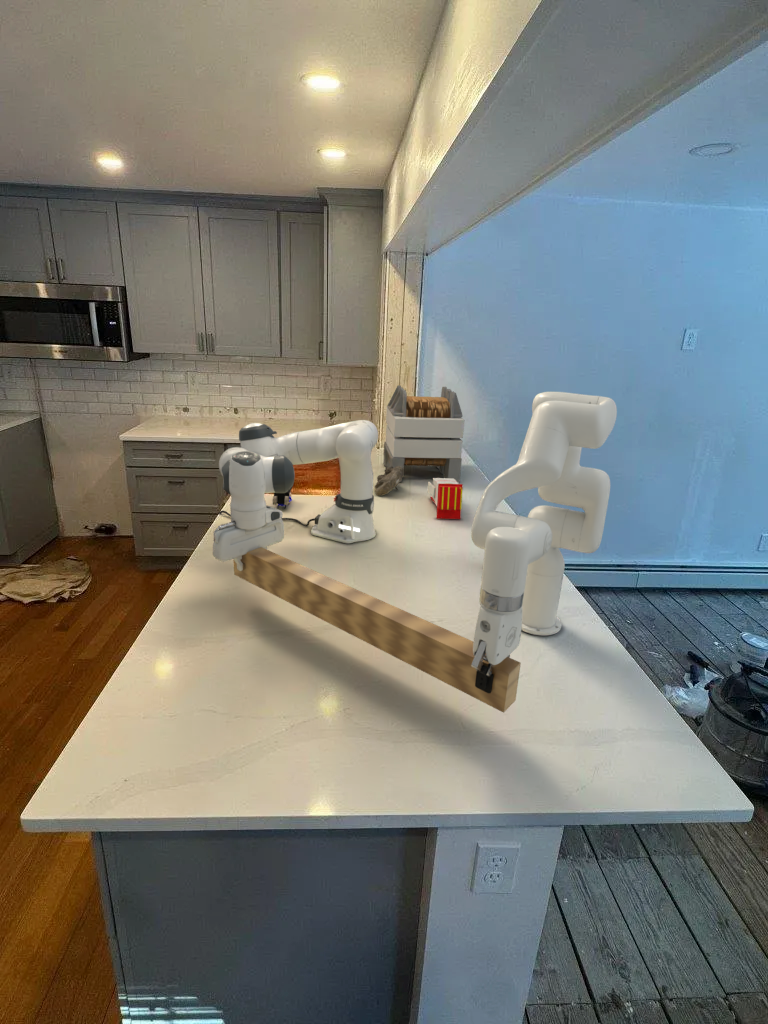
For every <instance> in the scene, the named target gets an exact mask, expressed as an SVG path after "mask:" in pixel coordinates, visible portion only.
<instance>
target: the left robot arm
mask: <svg viewBox="0 0 768 1024" xmlns="http://www.w3.org/2000/svg"><path fill="white" fill-rule="evenodd" d="M276 434H278V432H277V431H275V430H273V429H272V428H271V427H270V426H269V425H267V424H265V423H262V422H261V423H260V422H251V423H248V424H246V425H245V426H243V427H241V428H240V430H239V431H238V441H239V443H240V446H234V447H230V448H228V449H226V450H225V451H224V452H223V453H222V454H221V455H220V458H219V461H218V469H219V473H220V475H221V477H222V480H223V481H222V482H223V483H222V489H223V490H224V491H225V492H226V493H227V494H228V495H229V496H230V497H231V500H230V504H229V510H230V511H229V512H230V513H229V512H227V511H226V510H220V511H219V512H218V515H221V514H225V515H227V516H228V517H230V521H229V522H226V523H224V524H223V523H222V524H219V525H218V526H217V528H215V530H213V542H212V543H213V544H212V556H213V558H215V560H216V561H219V562H222V563H226V562H228V561H231V560H232V561H233V560H234V561H235V562H236V563H237V569H238V570H239V571H242V570H245V569H246V567H245V566H246V565H245V563H243V562H241V561H240V560H241V559H242V555H245V554H247V552H249V551H252V550H254V549H257V548H260V547H262V548H265V549H267V550H268V547H271V546H273V545H275V544H278V543H282V542H283V540H284V538H285V524H284V521H293V522H296V523H298V524H299V525H301V526H303V527H309V525H310V523H311V522H314V525H313V526H312V528H311V530H310V533H311V536H315V537H319V538H323V539H326V540H330V541H336V542H339V543H343V544H352V543H357V542H365V541H368V540H372V539H373V538H375V537H376V535H377V532H376V528H375V523H374V513H373V512H374V509H375V496H374V471H373V464H372V451H373V449H374V448H375V447H376V445H377V444H378V441H379V431H378V428H377V426H376V425H375V423H373V422H372V421H371V420H367V419H358V420H353V421H348V422H347V421H346V422H342V423H337V424H334V425H330V426H326V427H322V428H313V429H309V430H308V429H307V430H301V431H295V432H290V433H287V434H284V435H281V436H278V437H275V435H276ZM335 459H338V464H339V471H340V490H339V491H338V492H337V494H336V495H335V496H334V497H333V502H334V504H333V505H331V506H329V507H328V508H326V509H325V510H323V512H321V514H320V513H319V514H317V515H316V516H315V517H314V518H310V519H308V520H307V523H306V524H305V523H303V522H301V521H300V520H298V519H297V518H293V517H283V514H284V513H283V511H282V510H280V509H277V507H273V506H271V505H267V502H266V498H265V494H274V493H286V492H287V491H288V490H289V489H290V488H291V487H292V486H293V487H294V484H295V475H296V474H295V468H294V466H297V465H298V466H299V465H308V464H314V463H322V462H328V461H332V460H335ZM293 487H292V488H293Z"/></svg>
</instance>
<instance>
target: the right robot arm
mask: <svg viewBox="0 0 768 1024" xmlns="http://www.w3.org/2000/svg"><path fill="white" fill-rule="evenodd" d="M531 412H532V415H531V418H530V421H529V424H528V428H527V431H526V433H525V437H524V439H523V443H522V446H521V449H520V451H519V456H518V459H517V462H516V463H515V464H514V465H512V466H510V467H509V468H507V469H505V470H504V471H503V472H500V474H498V475H497V476H496V477H495V478H494V479H493V480H492V481H491V482H490V483H488V485H487V486H486V488H485V489H484V490H483V493H482V494H481V497H480V499H479V503H478V504H477V505H478V506H477V508H476V511H475V514H474V517H473V519H472V524H471V529H470V537H471V541H472V542H473V545H475V547H477V548H479V549H481V550H484V553H483V562H482V571H481V580H480V581H481V582H480V589H479V590H480V591H479V599H478V603H479V605H480V606H479V610H478V614H477V618H476V623H475V624H476V625H475V628H474V634H473V655H474V656H475V657H474V659H473V662H472V664H471V667H473V668H475V669H476V671H477V672H476V681H475V686H476V687H477V688H478V689H480V690H482V691H484V692H486V693H491V692H492V684H493V677H494V674H492V670H493V666H494V665H497V664H499V663H500V662H502V661H503V660H504V659H505V658H506V657H509V658H511V655H512V653H513V652H514V651H515V650H517V648H518V647H519V646H520V643H521V636H522V632H524V633H527V634H531V635H534V636H552V635H556V634H557V633H559V632H560V631H561V629H562V626H563V625H562V624H563V623H562V620H561V619H560V618H559V617H558V610H559V604H560V599H561V591H562V585H563V579H564V573H565V567H566V563H565V562H566V561H565V559H564V555H563V553H562V551H561V550H562V549H563V550H567V551H573V552H577V553H582V554H592V553H595V552H596V551H597V550H598V549H599V548H600V546H601V544H602V539H603V534H604V529H605V523H606V519H607V512H608V508H609V507H608V506H609V501H610V500H609V499H610V493H611V478H610V476H609V474H608V473H607V472H606V471H605V470H602V469H600V468H594V467H588V466H583V465H581V464H580V461H581V456H582V449H592V450H595V449H599V448H601V447H602V446H603V445H604V444H605V442H606V441H607V439H608V437H609V436H610V435H611V433H612V431H613V429H614V427H615V425H616V421H617V417H618V416H617V415H618V407H617V404H616V401H614V399H613V398H611V397H608V396H601V395H593V394H592V395H591V394H582V393H581V394H580V393H575V392H565V391H543V392H539V393H537V394H536V395H535V396H534V397H533V400H532V404H531ZM536 488H537V492H538V496H539V497H540V499H541V500H543V501H545V502H548V503H552V504H557V505H561V506H568V507H571V508H572V507H573V508H577V509H582V510H583V511H580V510H575V509H570V508H565V507H559V506H554V505H537V506H534V507H532V509H531V510H530V511H529V512H528V515H527V516H523V515H520V514H513V513H509V512H504V511H499V510H497V507H499V505H500V504H501V503H502V502H503V500H505V499H506V498H508V497H510V496H512V495H515V494H517V493H521V492H524V491H525V492H526V491H529V490H534V489H536ZM485 654H486V655H485ZM483 660H485V661H487V662H489V664H488V668H487V667H486V666H485V665H483V664H482V663H483Z"/></svg>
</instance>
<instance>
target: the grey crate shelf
mask: <svg viewBox="0 0 768 1024" xmlns="http://www.w3.org/2000/svg"><path fill="white" fill-rule="evenodd" d="M440 393H441V394H440V396H415V395H414V396H413V395H412V396H411V395H407V394H408V393H407V390H406V389H404V388H403V387H402V385H399V384H398V385H397V386H396V388H395V390H394V392H393V394H392V395H391V398H390V400H389V402H388V404H387V405H386V413H385V414H386V415H385V423H386V428H385V438H384V442H383V466H384V467H393V468H395V467H396V466H400V467H402V468H403V469H405V466H406V467H407V466H411V467H412V466H413V467H415V466H416V467H417V466H418V467H436V468H437V470H438V469H439V473H440V474H441V475H443V478H454V479H455V480H456V481H457V482H458V483H459V484H460V483H461V472H462V461H463V460H462V453H463V442H464V441H463V440H462V439H463V438H464V431H465V430H464V429H465V419H464V418H463V411H462V408H461V405H460V402H459V398H458V395H457V392H455V391H453V390H452V389H451V388H447V386H442V387H441V392H440ZM402 482H403V479H402V480H401V481H399V483H402Z"/></svg>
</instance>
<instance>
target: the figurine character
mask: <svg viewBox="0 0 768 1024" xmlns="http://www.w3.org/2000/svg"><path fill="white" fill-rule="evenodd" d="M293 488H294V485H293V486H292V487H291V488H290V489H289V490H288V491H287V492H286V493H273V496H272V505H273V506H276V509H279V508H280V507H283V509H284V510H286V509H287V506H289V505H290V503H291V502H292V501H293V499H292V489H293ZM279 510H280V509H279Z"/></svg>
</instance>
